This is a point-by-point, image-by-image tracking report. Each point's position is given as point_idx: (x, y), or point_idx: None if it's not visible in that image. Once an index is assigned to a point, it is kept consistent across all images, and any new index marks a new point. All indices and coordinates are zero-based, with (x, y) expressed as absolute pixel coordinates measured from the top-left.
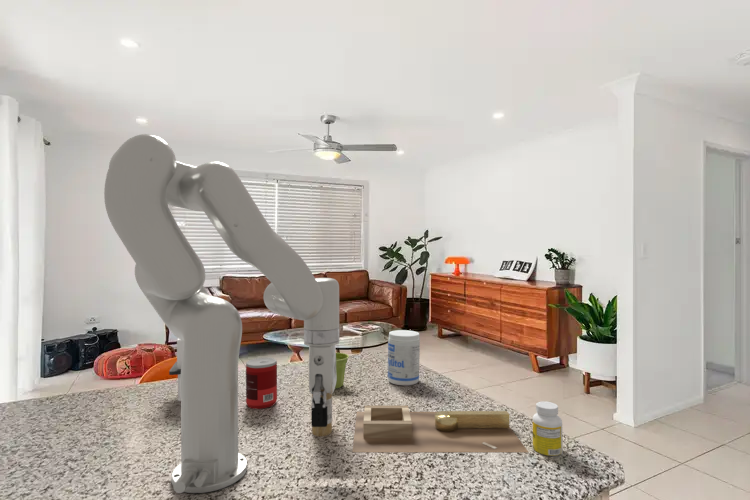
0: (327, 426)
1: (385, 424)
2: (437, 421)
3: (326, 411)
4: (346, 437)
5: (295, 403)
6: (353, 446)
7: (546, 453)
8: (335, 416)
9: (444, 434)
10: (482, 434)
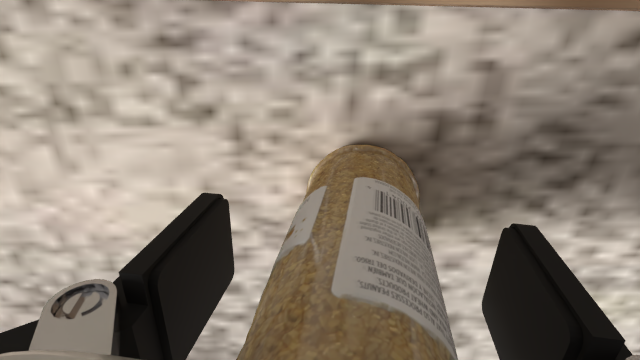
0: (411, 198)
1: None
2: None
3: (595, 309)
4: (387, 59)
5: (27, 303)
6: (622, 3)
7: None
8: (117, 130)
9: None
10: None
